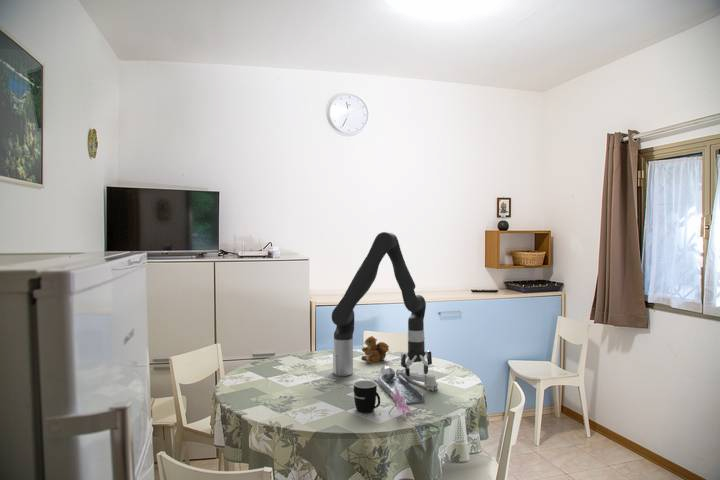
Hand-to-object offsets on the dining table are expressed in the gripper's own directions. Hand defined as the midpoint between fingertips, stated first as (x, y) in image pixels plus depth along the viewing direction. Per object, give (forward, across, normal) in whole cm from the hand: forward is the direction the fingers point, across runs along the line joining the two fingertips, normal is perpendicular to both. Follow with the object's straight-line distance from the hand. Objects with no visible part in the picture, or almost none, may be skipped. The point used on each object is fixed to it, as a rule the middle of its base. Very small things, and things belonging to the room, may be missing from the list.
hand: (416, 374), depth 205 cm
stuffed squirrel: (+4, +7, -41) cm, 42 cm away
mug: (+4, +31, +24) cm, 39 cm away
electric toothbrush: (+4, 0, 0) cm, 5 cm away
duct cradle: (+4, +12, +6) cm, 13 cm away
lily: (+4, +20, +31) cm, 37 cm away
